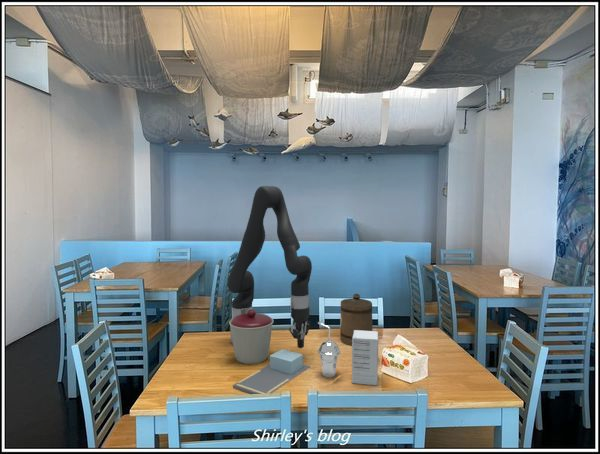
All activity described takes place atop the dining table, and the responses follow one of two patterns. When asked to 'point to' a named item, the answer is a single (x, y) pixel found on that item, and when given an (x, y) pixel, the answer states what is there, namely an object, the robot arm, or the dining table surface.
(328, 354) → the cup with straw
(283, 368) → the carton
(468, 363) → the dining table surface
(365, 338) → the supplement box
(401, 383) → the dining table surface
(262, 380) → the display board
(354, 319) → the wooden container
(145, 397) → the dining table surface
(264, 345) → the canister
